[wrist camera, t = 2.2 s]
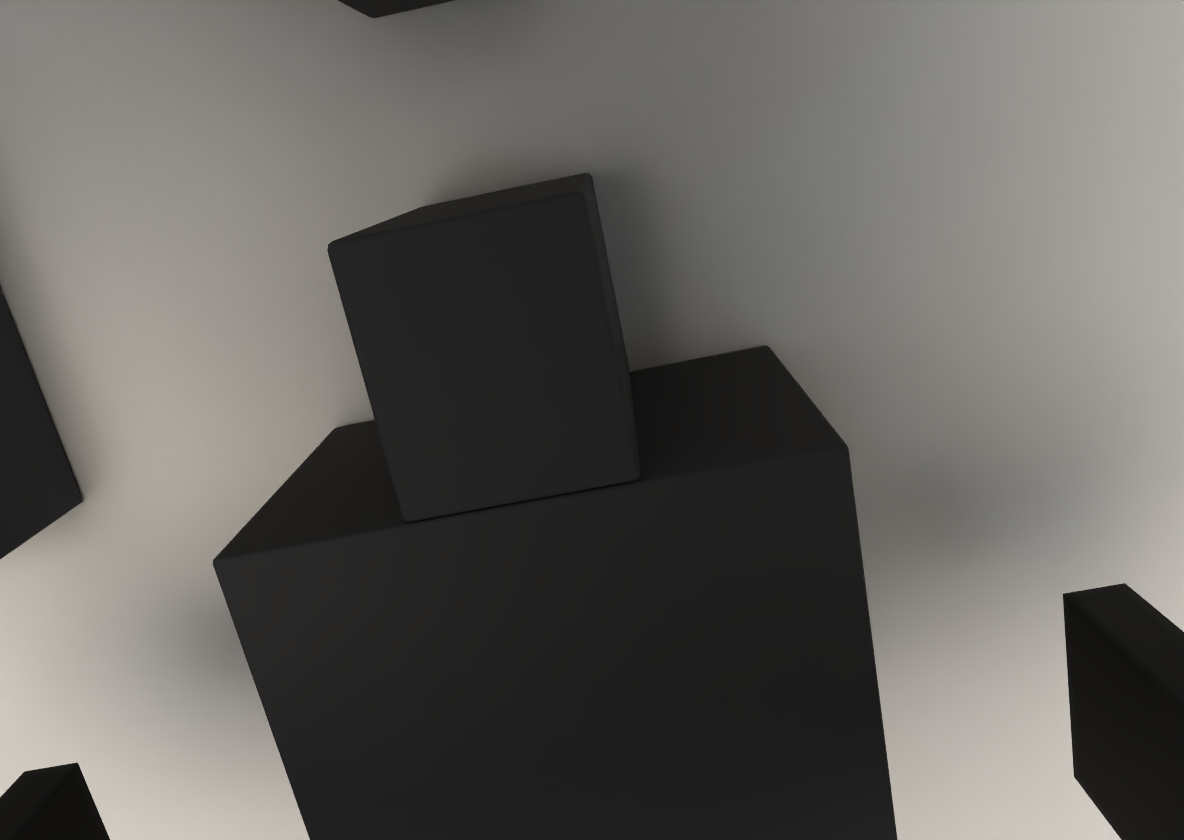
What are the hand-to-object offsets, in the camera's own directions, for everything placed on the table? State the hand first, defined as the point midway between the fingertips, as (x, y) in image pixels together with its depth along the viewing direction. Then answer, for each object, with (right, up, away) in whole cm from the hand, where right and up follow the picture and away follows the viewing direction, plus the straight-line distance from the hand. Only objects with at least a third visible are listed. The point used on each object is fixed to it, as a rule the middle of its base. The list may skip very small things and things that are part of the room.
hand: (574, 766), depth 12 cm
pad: (0, +4, +5) cm, 6 cm away
